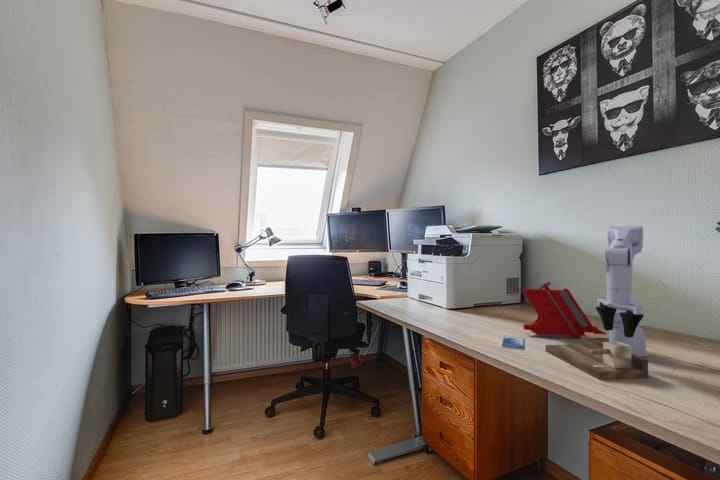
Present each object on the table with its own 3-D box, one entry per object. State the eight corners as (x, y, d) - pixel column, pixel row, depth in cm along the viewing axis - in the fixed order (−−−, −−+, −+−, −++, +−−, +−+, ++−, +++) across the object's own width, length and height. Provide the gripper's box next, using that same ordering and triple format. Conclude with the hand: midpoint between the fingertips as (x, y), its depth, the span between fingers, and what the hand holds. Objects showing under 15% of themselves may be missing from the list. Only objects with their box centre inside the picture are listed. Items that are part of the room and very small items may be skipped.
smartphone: (524, 337, 133) (524, 348, 119) (524, 340, 133) (524, 351, 119) (503, 335, 136) (501, 345, 122) (503, 337, 136) (501, 348, 122)
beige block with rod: (619, 362, 101) (619, 341, 101) (631, 367, 97) (631, 346, 97) (586, 363, 100) (586, 342, 100) (597, 368, 96) (597, 346, 96)
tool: (600, 331, 138) (567, 268, 140) (609, 334, 132) (574, 268, 134) (536, 358, 140) (505, 295, 142) (543, 362, 134) (510, 297, 136)
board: (585, 350, 119) (585, 335, 119) (648, 378, 95) (648, 359, 95) (545, 351, 118) (545, 336, 118) (599, 379, 94) (599, 360, 94)
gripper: (588, 285, 112) (588, 327, 112) (625, 291, 97) (625, 340, 98) (609, 284, 112) (609, 327, 112) (649, 291, 98) (649, 340, 98)
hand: (618, 333), depth 105 cm, fingers open, 7 cm apart
